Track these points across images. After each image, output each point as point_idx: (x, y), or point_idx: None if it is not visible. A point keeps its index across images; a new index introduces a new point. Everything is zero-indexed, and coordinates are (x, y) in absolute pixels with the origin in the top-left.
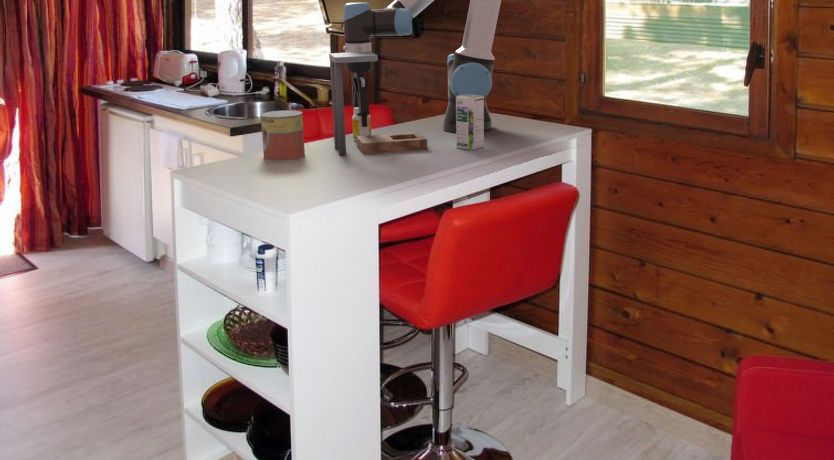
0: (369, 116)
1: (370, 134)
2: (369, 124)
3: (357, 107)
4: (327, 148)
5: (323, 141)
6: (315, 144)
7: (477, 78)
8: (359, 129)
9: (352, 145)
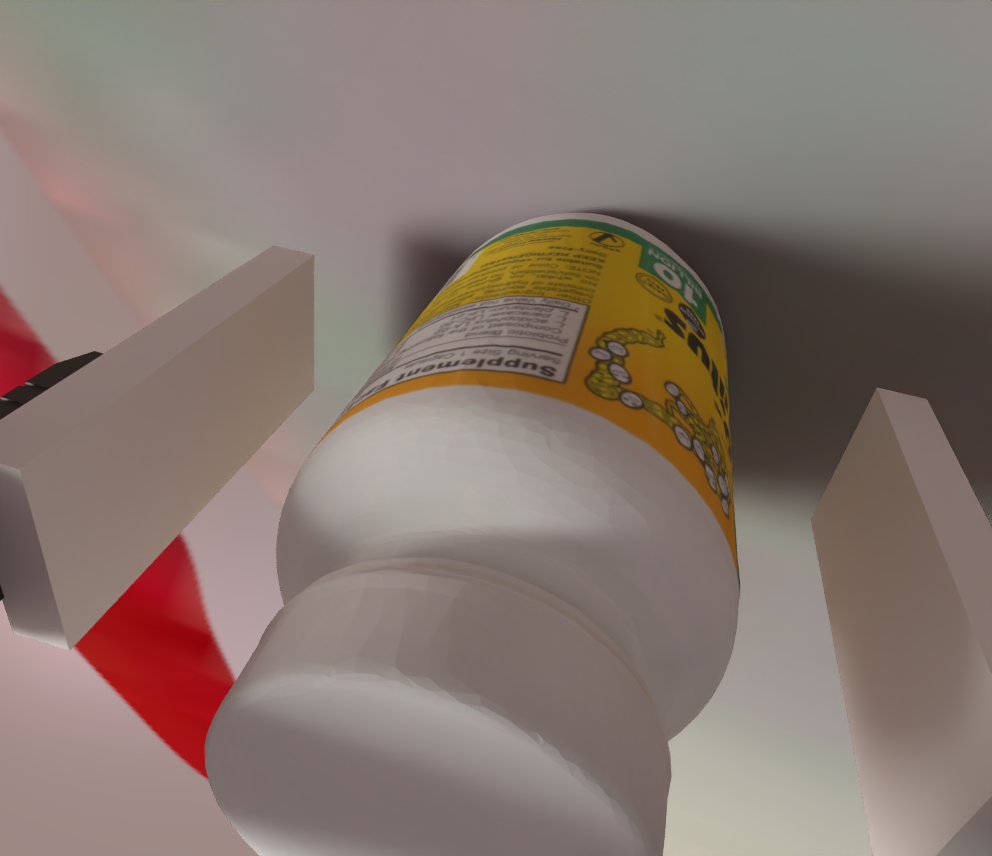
0: (636, 482)
1: (678, 282)
2: (692, 395)
3: (310, 852)
4: (832, 814)
5: None
6: None
7: None
8: (836, 622)
9: None
